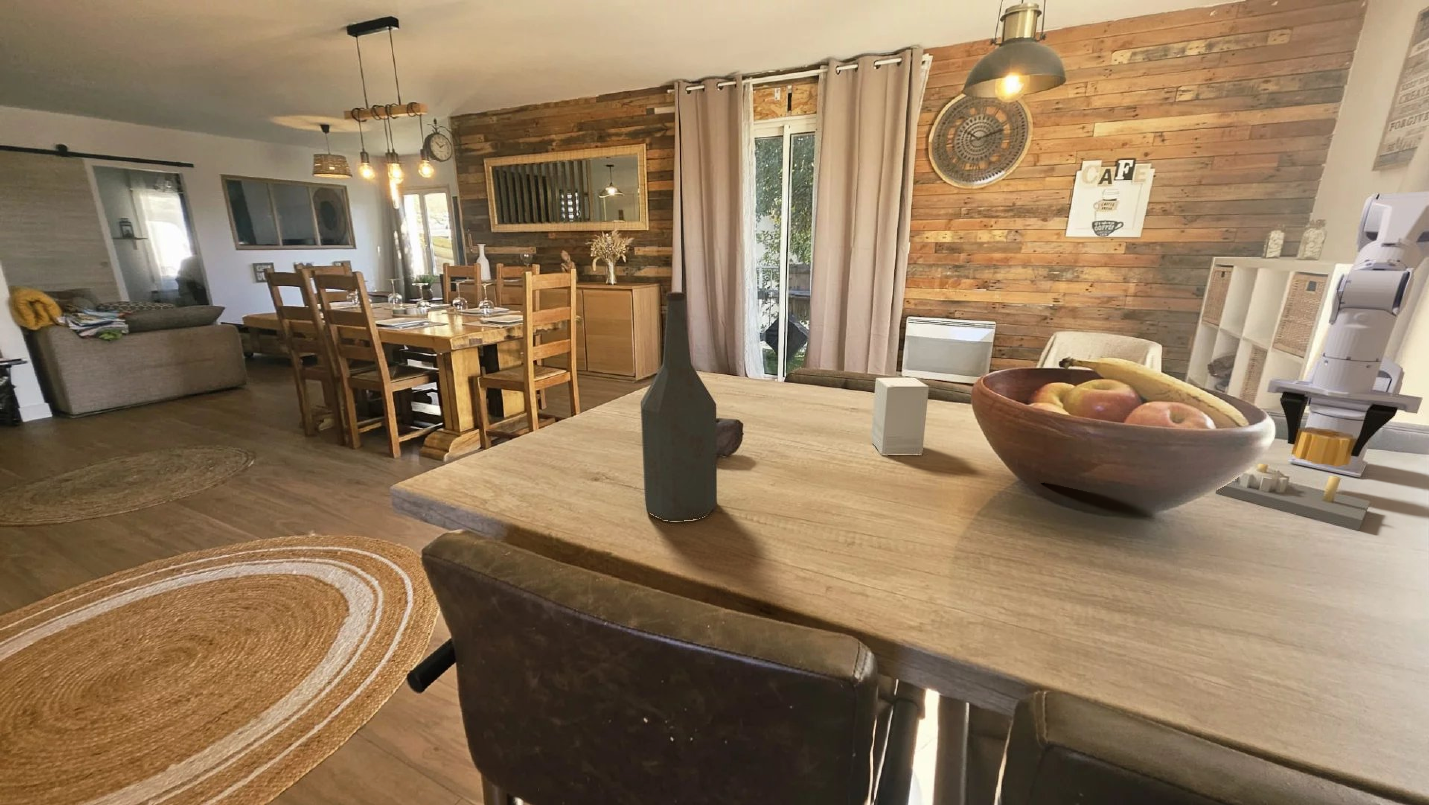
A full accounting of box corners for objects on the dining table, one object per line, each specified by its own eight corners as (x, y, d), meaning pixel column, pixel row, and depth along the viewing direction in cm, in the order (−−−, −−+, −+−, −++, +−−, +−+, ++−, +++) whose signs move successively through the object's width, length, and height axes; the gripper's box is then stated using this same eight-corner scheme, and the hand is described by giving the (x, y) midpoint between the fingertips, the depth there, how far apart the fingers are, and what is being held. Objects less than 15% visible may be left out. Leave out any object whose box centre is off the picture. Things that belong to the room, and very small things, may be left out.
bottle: (630, 507, 77) (619, 292, 69) (680, 486, 84) (675, 287, 76) (680, 532, 71) (674, 296, 63) (730, 506, 78) (731, 291, 69)
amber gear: (1295, 449, 85) (1302, 424, 84) (1351, 460, 80) (1359, 434, 79) (1287, 457, 82) (1295, 432, 81) (1345, 469, 77) (1354, 443, 76)
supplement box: (923, 456, 96) (930, 386, 92) (880, 456, 96) (886, 386, 93) (909, 442, 103) (915, 376, 100) (869, 442, 103) (874, 376, 100)
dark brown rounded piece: (655, 457, 96) (654, 420, 94) (664, 447, 101) (663, 411, 99) (739, 464, 93) (740, 425, 91) (744, 453, 98) (744, 416, 96)
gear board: (1231, 478, 86) (1239, 448, 85) (1366, 511, 75) (1378, 477, 74) (1215, 493, 81) (1223, 461, 79) (1358, 530, 70) (1370, 494, 69)
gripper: (1273, 353, 80) (1249, 441, 84) (1432, 370, 69) (1396, 470, 73) (1283, 348, 84) (1260, 431, 88) (1435, 363, 73) (1401, 458, 77)
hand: (1322, 448), depth 81 cm, fingers closed on amber gear, 6 cm apart
